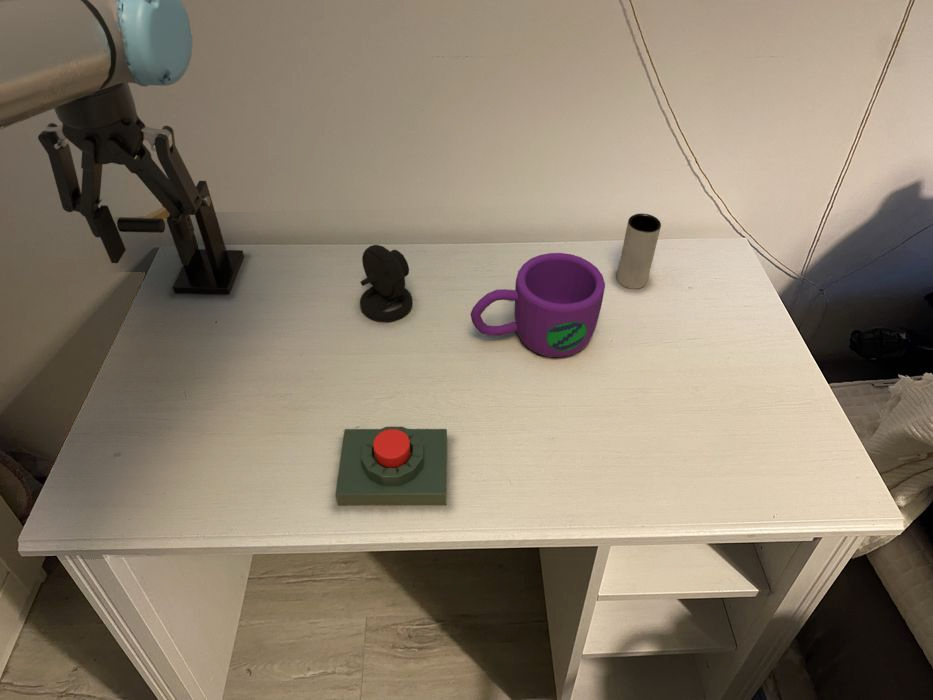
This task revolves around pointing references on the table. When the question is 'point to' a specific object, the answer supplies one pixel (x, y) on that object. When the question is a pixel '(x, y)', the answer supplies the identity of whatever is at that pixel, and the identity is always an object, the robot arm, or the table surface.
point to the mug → (550, 304)
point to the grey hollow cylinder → (638, 250)
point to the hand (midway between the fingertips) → (153, 257)
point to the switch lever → (144, 222)
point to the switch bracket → (208, 255)
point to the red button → (391, 448)
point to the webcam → (384, 283)
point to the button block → (393, 470)
